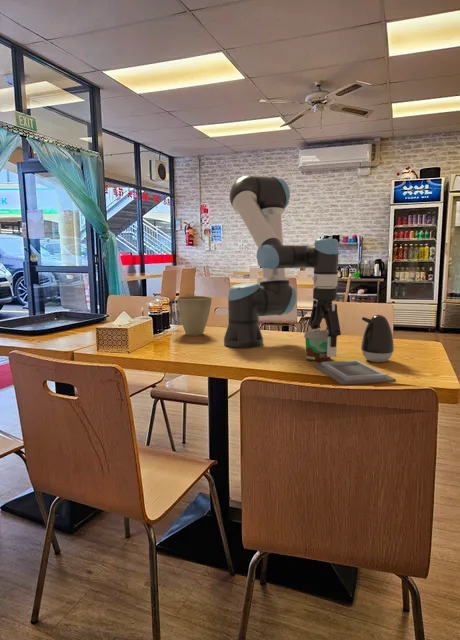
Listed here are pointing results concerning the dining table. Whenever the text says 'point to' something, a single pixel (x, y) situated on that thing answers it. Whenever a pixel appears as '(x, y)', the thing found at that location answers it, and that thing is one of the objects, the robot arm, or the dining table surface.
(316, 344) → the food container
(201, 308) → the plant pot
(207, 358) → the dining table surface
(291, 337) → the dining table surface
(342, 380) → the mat
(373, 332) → the pump dispenser
